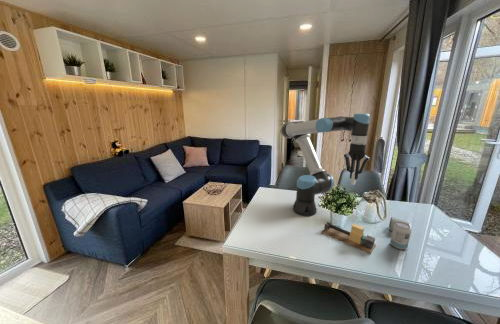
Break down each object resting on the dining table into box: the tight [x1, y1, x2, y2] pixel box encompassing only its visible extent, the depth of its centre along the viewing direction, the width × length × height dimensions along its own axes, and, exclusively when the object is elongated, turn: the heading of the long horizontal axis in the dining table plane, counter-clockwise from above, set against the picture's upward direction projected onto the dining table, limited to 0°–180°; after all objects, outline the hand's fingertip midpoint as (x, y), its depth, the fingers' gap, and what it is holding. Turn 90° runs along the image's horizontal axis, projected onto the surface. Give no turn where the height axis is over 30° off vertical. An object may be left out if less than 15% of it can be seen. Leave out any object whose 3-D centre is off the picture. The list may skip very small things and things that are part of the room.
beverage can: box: [390, 222, 412, 250], centre depth 99 cm, size 7×7×12 cm
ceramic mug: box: [388, 216, 410, 232], centre depth 112 cm, size 11×8×8 cm
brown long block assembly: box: [321, 221, 377, 255], centre depth 105 cm, size 24×8×6 cm, turn 45°
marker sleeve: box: [349, 223, 365, 244], centre depth 102 cm, size 5×4×8 cm
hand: (352, 184), depth 115 cm, fingers closed
